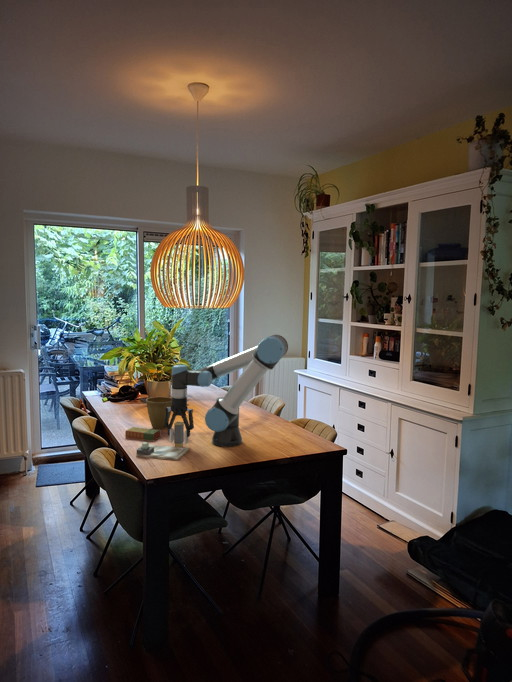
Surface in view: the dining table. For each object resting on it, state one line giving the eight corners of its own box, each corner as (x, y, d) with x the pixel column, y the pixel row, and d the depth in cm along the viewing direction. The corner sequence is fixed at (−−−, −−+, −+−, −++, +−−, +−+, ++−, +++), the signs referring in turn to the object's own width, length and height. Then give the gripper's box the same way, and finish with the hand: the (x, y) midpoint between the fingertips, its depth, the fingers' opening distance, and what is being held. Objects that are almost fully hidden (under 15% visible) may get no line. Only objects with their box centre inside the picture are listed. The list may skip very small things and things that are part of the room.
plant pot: (156, 433, 267) (156, 403, 266) (140, 427, 277) (140, 399, 276) (178, 427, 278) (179, 399, 276) (162, 422, 288) (162, 395, 286)
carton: (133, 434, 265) (133, 426, 265) (160, 437, 261) (160, 429, 261) (125, 438, 257) (125, 430, 257) (153, 441, 253) (153, 433, 253)
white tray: (188, 450, 241) (188, 444, 240) (177, 460, 226) (177, 454, 226) (149, 446, 245) (149, 440, 244) (136, 456, 230) (136, 449, 230)
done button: (149, 448, 234) (149, 442, 233) (147, 450, 231) (147, 444, 230) (143, 448, 234) (143, 441, 234) (140, 450, 231) (140, 443, 231)
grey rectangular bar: (183, 445, 247) (183, 422, 246) (181, 447, 244) (181, 423, 242) (176, 445, 248) (176, 421, 247) (174, 447, 245) (174, 423, 243)
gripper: (201, 396, 245) (200, 441, 247) (163, 393, 249) (162, 438, 251) (196, 399, 237) (195, 446, 240) (156, 396, 242) (156, 442, 244)
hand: (178, 442), depth 246 cm, fingers open, 7 cm apart
